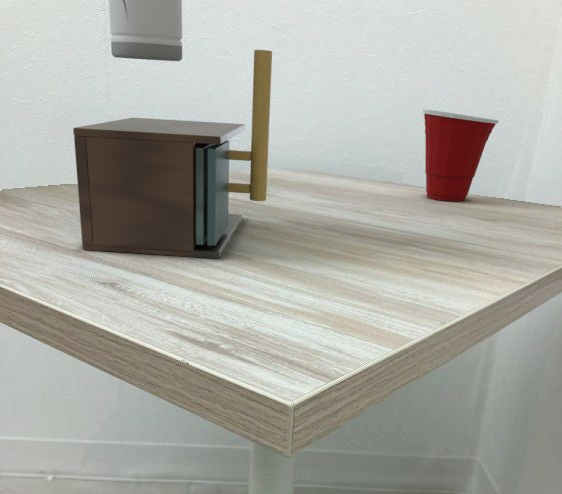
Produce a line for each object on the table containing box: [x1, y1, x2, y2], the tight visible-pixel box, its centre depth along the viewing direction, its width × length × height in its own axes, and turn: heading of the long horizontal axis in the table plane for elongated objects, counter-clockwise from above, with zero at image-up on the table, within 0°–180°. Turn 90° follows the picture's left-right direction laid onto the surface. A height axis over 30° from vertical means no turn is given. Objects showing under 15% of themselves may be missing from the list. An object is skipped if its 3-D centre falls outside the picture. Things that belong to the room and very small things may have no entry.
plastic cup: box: [422, 108, 500, 202], centre depth 94 cm, size 11×11×12 cm
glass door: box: [207, 49, 273, 246], centre depth 58 cm, size 4×8×16 cm, turn 176°
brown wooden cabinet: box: [72, 117, 246, 260], centre depth 63 cm, size 12×18×10 cm
